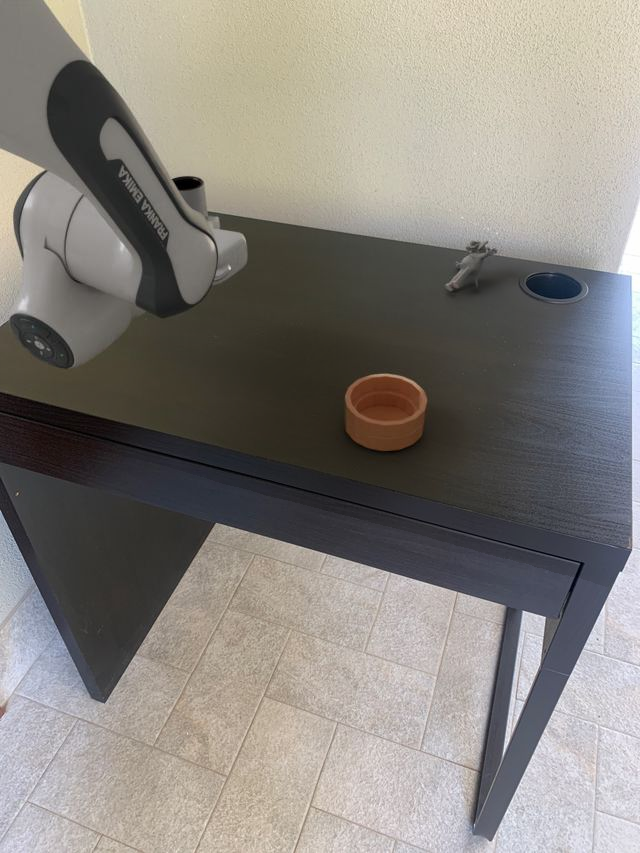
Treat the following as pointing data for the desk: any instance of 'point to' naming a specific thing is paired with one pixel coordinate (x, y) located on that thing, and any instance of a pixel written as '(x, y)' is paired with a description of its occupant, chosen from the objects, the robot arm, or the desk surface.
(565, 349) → the desk surface
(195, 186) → the tall grey cup
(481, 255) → the grey figurine
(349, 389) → the bowl
